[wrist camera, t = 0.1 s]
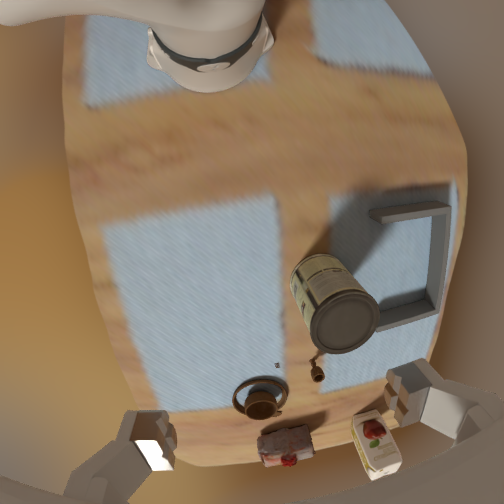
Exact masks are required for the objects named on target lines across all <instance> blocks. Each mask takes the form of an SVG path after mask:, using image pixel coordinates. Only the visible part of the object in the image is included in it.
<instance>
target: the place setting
mask: <svg viewBox="0 0 504 504" xmlns="http://www.w3.org/2000/svg"><path fill="white" fill-rule="evenodd" d="M314 361H315V359H311V360H310V363H311V366H312V367H313V368H312V369H311V376H312V379H313V381H314V382H321V381H323V380H324V378H325V375H324V373H323V370H322V369H321V368H320V367H318V366H316V362H314ZM275 364H279V363H275ZM275 367H276V368H280V367H278V366H275ZM257 383H269V384H274V385H277V386H279V387H280V388H281V390H282V398H281V400H280V401H279V402H278V403H277V401H276V399H275V397H274V396H273V395H272V394H271V393H268V392H264V391H257V392H254V393H252V394H251V395H249V396H248V397H247V398H246V400H245V408H243V407H241V406H240V405H239V404H238V402H237V400H236V395H237V393H238V392H239V391H240V390H241V389H243V388H245V387H247V386H249V385H253V384H257ZM286 400H287V393H286V390H285V389H284V387H283V386H282V385H280V384H279V383H277V382H275V381H272V380H265V379H260V380H253V381H250V382H247V383H245V384H243V385H242V386H240V387H239V388H238V389H237V390H236V391H235V393H234V395H233V399H232V403H233V406H234V408H235V409H236V410H237V411H238V412H240V413H242V414H244V415H247V416H248V417H249V418H251V419H254V420H265V419H268V418H271V417H277V416H279V415H281V414H282V413H281V412H277V411H278V410H279V409H280V408H281V407H282V406H283V405H284V404H285V402H286Z"/></svg>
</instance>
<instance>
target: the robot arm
mask: <svg viewBox="0 0 504 504" xmlns="http://www.w3.org/2000/svg"><path fill="white" fill-rule="evenodd" d="M264 3H265V0H0V24H2V25H7V26H17V25H22V24H25V23H29V22H32V21H37V20H41V19H46V18H51V17H58V16H67V15H100V16H109V17H116V18H122V19H127V20H132V21H136V22H140V23H144V24H147V25H149V26H150V27H149V28H148V36H149V43H148V52H147V63H148V65H149V66H150V67H152V68H154V69H157V70H160V71H163V72H165V73H167V74H168V75H169V76H170V77H171V78H172V79H173V80H174V81H175V82H177V83H178V84H179V85H181V86H183V87H185V88H187V89H190V90H193V91H197V92H218V91H222V90H226V89H228V88H231V87H233V86H235V85H237V84H238V83H240V82H241V81H243V80H244V79H245V78H246V77H247V76H248V75H249V74H250V73H251V71H252V70H253V68H254V67H255V65H256V63H257V61H258V59H259V58H260V57H261V56H262V55H263V54H264V53H266V52H267V51H268V50H270V49H271V48H272V46H273V44H274V38H273V36H272V34H271V31H270V29H269V27H268V24H267V22H266V20H265V18H264V15H263V13H262V9H263V6H264ZM386 379H387V380H388V383H387V384H386V386H385V388H384V397H385V401H386V404H387V406H388V407H389V409H391V410H394V411H395V414H394V417H395V419H396V420H397V422H398V424H399V425H400V427H404V426H407V425H410V424H412V423H415V422H418V421H420V420H421V421H420V422H422V423H424V424H426V425H428V426H430V427H432V428H434V429H435V430H438V431H439V432H441V433H443V434H445V435H447V436H449V437H451V438H453V439H455V441H454V443H453V445H452V447H451V448H450V449H448V450H446V451H444V452H442V453H440V454H438V455H436V456H434V457H432V458H430V459H428V460H425V461H423V462H421V463H419V464H417V465H414V466H412V467H410V468H407V469H405V470H402V471H400V472H397V473H395V474H392V475H389V476H387V477H384V478H381V479H378V480H376V481H373V482H370V483H367V484H364V485H361V486H358V487H354V488H351V489H347V490H344V491H340V492H337V493H333V494H329V495H325V496H321V497H316V498H312V499H307V500H302V501H297V502H292V503H286V504H504V402H503V401H502V400H501V399H500V398H499V397H498V396H497V395H496V394H495V393H492V392H489V391H485V390H482V389H478V388H475V387H471V386H468V385H465V384H461V383H458V382H454V381H451V380H448V379H447V380H444V379H443V378H442V377H441V376H440V375H439V374H438V373H437V372H436V371H435V370H434V369H433V367H431V365H430V364H429V363H428V362H427V361H426V360H425V359H423V358H420V359H418V360H415V361H412V362H410V363H407V364H404V365H401V366H398V367H395V368H392V369H389V370H388V371H387V374H386ZM176 448H177V434H176V431H175V428H174V426H173V425H172V424H171V423H169V415H168V413H167V411H165V410H139V411H133V410H132V411H131V410H128V411H127V412H126V413H125V414H124V417H123V420H122V423H121V426H120V429H119V432H118V435H117V438H116V441H111V442H110V443H108V444H107V445H106V446H105V447H103V448H102V449H101V450H100V451H98V452H97V453H96V454H94V455H93V456H92V457H91V458H89V459H88V460H87V461H85V462H84V463H83V464H82V465H80V466H79V467H78V468H77V469H75V470H74V471H72V473H71V475H70V478H69V480H68V483H67V486H66V489H65V491H64V494H63V495H59V494H55V493H52V492H48V491H45V490H41V489H38V488H35V487H32V486H29V485H26V484H23V483H20V482H18V481H15V480H12V479H10V478H7V477H5V476H2V475H0V504H129V503H128V502H127V500H128V499H129V498H130V497H131V495H132V494H133V493H134V492H135V491H136V490H137V489H138V488H139V486H140V485H141V484H142V483H143V482H144V481H145V479H146V478H147V477H148V476H149V475H150V473H151V472H152V470H174V463H175V455H174V453H173V451H174V450H175V449H176Z"/></svg>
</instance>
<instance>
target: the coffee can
mask: <svg viewBox="0 0 504 504" xmlns="http://www.w3.org/2000/svg"><path fill="white" fill-rule="evenodd" d="M290 289H291V293H292V295H293V296H294V298H295V300H296V303H297V305H298V307H299V309H300V311H301V314H302V316H303V318H304V321H305V323H306V325H307V327H308V329H309V332H310V336H311V339H312V341H313V343H314V345H315V346H316V347H317V348H318V349H319V350H321V351H323V352H325V353H329V354H344V353H347V352H350V351H353V350H355V349H357V348H358V347H360V346H361V345H363V344H364V343H365V342H366V341H367V340H368V339H369V338H370V337H371V336H372V335H373V333H374V332H375V330H376V328H377V326H378V323H379V319H380V310H379V306H378V304H377V302H376V301H375V299H374V298H373V297H372V296H371V295H369V294H368V293H367V292H366V291H365V289H364V288H363V287H362V286H361V285H360V284H359V283H358V281H357V280H356V279H355V278H354V277H353V276H352V275H351V274H350V273H349V271H348V270H347V269H346V268H345V267H344V266H343V265H342V263H341V262H340V261H339V260H338V259H337V258H335V257H334V256H331V255H329V254H315V255H312V256H309V257H307V258H305V259H304V260H303V261H301V262H300V263H299V264H298V265H297V266H296V268H295V269H294V271H293V273H292V275H291V279H290Z"/></svg>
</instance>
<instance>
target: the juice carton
mask: <svg viewBox="0 0 504 504" xmlns="http://www.w3.org/2000/svg"><path fill="white" fill-rule="evenodd" d="M351 435H352V438H353V440H354V443H355V445H356V448H357V450H358V453H359V455H360V458H361V460H362V463H363V465H364V468H365V470H366V472H367V474H368V476H369V477H370V479H371V480H375V479H377V478H380V477H382V476H384V475H388V474H391V473H394V472H396V471H397V470H398V468H399V467H400V465H401V463H402V457H401V454H400V451H399V449H398V447H397V445H396V443H395V441H394V439H393V437H392V435H391V433H390V431H389V429H388V427H387V426H386V424H385V422H384V420H383V418H382V416H381V415H380V413H379V412H378V411H377V410H376V409H374V410H371V411H368V412H365V413H361V414H357V415H354V416H353V420H352V424H351Z"/></svg>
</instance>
